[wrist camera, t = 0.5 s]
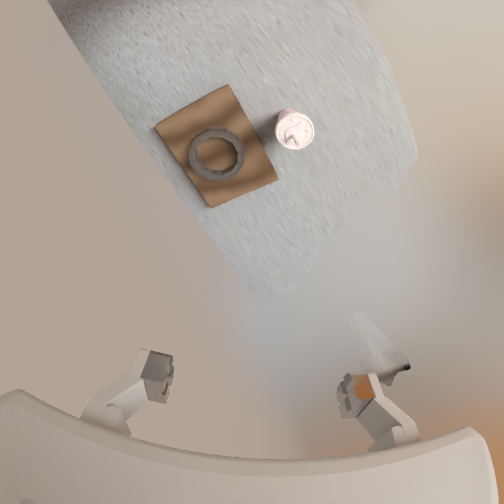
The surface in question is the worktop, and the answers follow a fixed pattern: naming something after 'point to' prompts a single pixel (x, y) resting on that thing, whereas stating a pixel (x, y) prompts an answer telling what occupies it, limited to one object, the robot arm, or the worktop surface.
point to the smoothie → (294, 129)
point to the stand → (218, 147)
